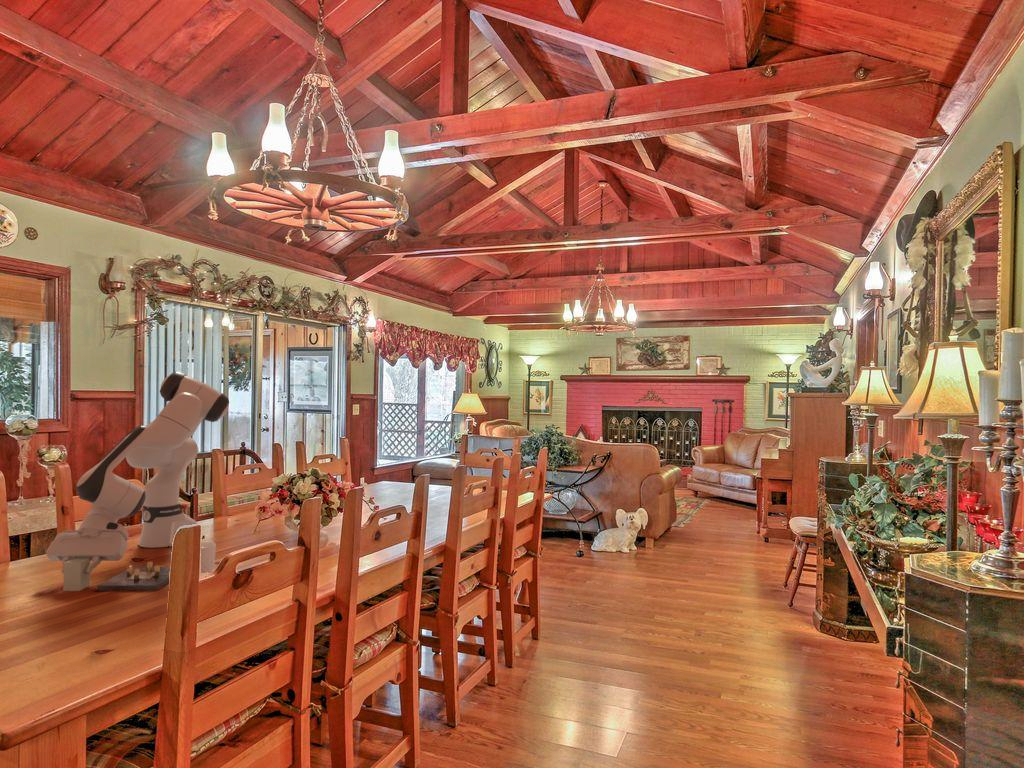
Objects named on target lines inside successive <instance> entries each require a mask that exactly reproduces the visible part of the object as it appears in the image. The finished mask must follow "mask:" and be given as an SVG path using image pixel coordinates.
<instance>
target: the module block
mask: <svg viewBox="0 0 1024 768" xmlns="http://www.w3.org/2000/svg"><path fill="white" fill-rule="evenodd" d="M90 564H91V561H90V558H73V559H71V560H69V561H67V562H64V574H63V589H62V592H80V591H83V590H85V589H86V587H87V588H88V587H90V579H91V574H85V573H84V572H83V570H84V569H85V566H89V565H90ZM84 588H85V589H84Z"/></svg>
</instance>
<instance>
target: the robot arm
mask: <svg viewBox="0 0 1024 768" xmlns="http://www.w3.org/2000/svg"><path fill="white" fill-rule="evenodd" d="M159 394H160V396H161V398H163V399H164V402H166V403H167V402H168V403H167V404H165V406H164V407H163V409H162V410H161V411H160V412H159V414H158V415H157V416H156V418H154V420H152V421H151V422H150V423H148V424H145V425H138V426H136V427H134V428H133V429H132V430H130V432H128V433H127V434H125V436H124V437H123V438H122V439H121V440H119V441H118V442H117V443H116V444H115V445H114V446H113V447H112V448H111V449H110V450H109V451H108V452H107V453H106V454H105V455H104V456H103V457H102V458H100V460H99V461H98V462H97V463H96V464H94V465H93V466H92V467H91V468H90V469H89V470H87V471H86V472H85V473H83V474H82V476H81V477H80V478H79V479H78V481H77V483H76V485H75V490H76V493H77V495H78V497H79V499H80V500H82V501H86V502H88V503H91V504H90V506H89V507H90V508H89V511H88V512H87V514H86V515H85V516H84V517H83V520H82V522H81V524H80V526H79V528H78V529H75V530H74V529H73V530H70V529H67V530H63V531H61V532H58V533H57V534H56V536H55V538H54V539H53V541H52V542H51V543H50V545H49V546H48V548H47V550H46V551H45V555H46V557H47V558H48V559H49V560H50V561H53V562H55V561H56V562H62V568H61V571H60V573H61V574H63V575H64V562H67V561H69V560H71V559H73V558H90V565H89V566H85V569H84V570H83V572H84V573H85V574H90V575H91V574H92V572H93V570H94V569H95V568H97V567H98V566H99V565H100V564H101V562H116V561H117V562H118V561H121V560H122V559H123V558H124V556H125V553H126V551H127V547H128V542H127V541H128V540H129V538H130V534H129V532H128V530H127V529H126V527H124V525H122V524H121V523H118V522H119V520H120V519H126V518H130V517H132V516H135V515H137V514H138V513H139V512H140V511H141V510H142V528H141V532H140V537H139V540H138V543H137V546H138V545H139V547H140V548H142V547H143V548H154V549H155V548H167V547H168V546H169V547H173V546H172V542H173V538H174V535H175V533H176V531H177V529H178V528H179V527H180V526H183V525H192V524H197V525H198V522H197V521H196V520H195V519H194V518H191V517H190V516H189V515H187V514H185V513H184V511H183V509H184V510H188V509H189V504H188V503H180V502H179V500H180V487H181V486H180V485H181V481H182V478H183V475H184V473H185V471H186V469H187V467H188V466H189V465H190V464H191V463H192V462H193V461H195V459H196V458H197V456H198V454H199V453H198V451H199V447H198V444H197V442H196V441H195V440H194V438H192V436H193V435H194V434H195V432H196V431H197V429H198V427H199V426H200V425H201V423H202V421H203V420H204V421H206V422H211V423H215V422H218V421H219V420H220V419H222V418H224V416H225V415H226V414H227V412H228V410H229V406H230V400H229V398H228V397H227V396H226V395H225V394H224V393H222V392H221V393H220V392H219V391H218V390H216V389H215V388H214V387H212V386H211V385H209V384H207V383H205V382H202V381H200V380H199V379H196V378H194V377H191V376H188V375H187V373H183V372H182V371H181V372H180V371H174V372H172V373H170V374H168V375H167V376H166V377H165V378H164V379H163V380H162V382H161V383H160V389H159ZM124 459H125V460H126V462H127V464H128V465H129V466H130V467H131V468H134V469H135V468H136V469H146V470H147V469H148V470H149V469H157V468H158V469H157V472H156V473H155V474H154V476H153V477H151V478H150V479H149V480H147V482H146V483H145V485H144V488H143V487H142V486H140V485H138V484H136V483H134V482H132V481H129V480H127V479H125V478H123V477H121V476H119V475H117V474H115V473H114V472H113V471H114V469H115V468H116V467H117V466H119V464H121V463H122V461H124ZM201 533H202V538H201V539H204V538H205V537H206V534H205V533H203V532H201ZM203 536H204V538H203Z"/></svg>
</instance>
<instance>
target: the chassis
mask: <svg viewBox="0 0 1024 768" xmlns="http://www.w3.org/2000/svg"><path fill="white" fill-rule="evenodd" d="M170 567H171V566H161V565H160V564H156V565H154V566H153V561H147V563H146V566H133V564H129V565H128V564H127V565H126V569H125V570H123V571H121V572H119V573H118V574H115V575H114V576H112V577H111V578H108V579H107V580H105V581H104V582H102V583H100V584H98V585H97V592H103V591H104V592H111V591H110V590H114V591H115V590H116V591H115V592H121V591H120V590H124V591H123V592H125V590H143V592H151V591H153V592H155V591H156V592H157V591H158V590H160V589H162V588H163V587H164V586H166V585H167V584H168V583H170V582H169V571H170ZM106 590H107V591H106ZM108 590H109V591H108ZM147 590H148V591H147ZM114 591H113V592H114Z"/></svg>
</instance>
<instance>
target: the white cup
mask: <svg viewBox="0 0 1024 768" xmlns="http://www.w3.org/2000/svg"><path fill="white" fill-rule="evenodd" d="M200 542H201V573H206V572H208V573H212V572H213V573H214V568H215V561H216V559H215V558H216V546H217V545H216V544H217V543H215V542H213V541H200ZM209 575H210V574H209ZM205 577H206V576H205Z"/></svg>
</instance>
